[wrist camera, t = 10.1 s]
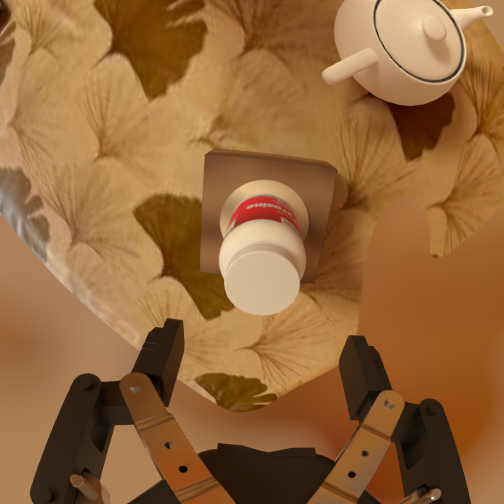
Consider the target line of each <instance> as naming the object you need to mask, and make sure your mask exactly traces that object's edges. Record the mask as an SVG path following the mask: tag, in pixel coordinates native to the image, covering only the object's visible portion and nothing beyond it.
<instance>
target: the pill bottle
mask: <svg viewBox="0 0 504 504" xmlns="http://www.w3.org/2000/svg"><path fill="white" fill-rule="evenodd" d="M219 266H220V271H221V274H222V276H223V278H224V280H225V281H224V284H225V290H226V293H227V296H228V298H229V299H230V301H231V302H232V303H233V304H234V305H235V306H236V307H237V308H239V309H240V310H242V311H244V312H246V313H249V314H253V315H260V316H264V315H273V314H276V313H279V312H281V311H283V310H285V309H286V308H288V307H289V306H290V305H291V304H292V303H293V302H294V301H295V299H296V297H297V295H298V293H299V289H300V280H301V278H302V276H303V274H304V271H305V268H306V253H305V248H304V245H303V241H302V237H301V233H300V230H299V226H298V222H297V219H296V216H295V213H294V211H293V209H292V208H291V206H290V205H289V204H288V203H287V202H286V201H284V200H283V199H281V198H280V197H278V196H275V195H272V194H266V193H260V194H254V195H251V196H249V197H247V198H245V199H244V200H242V201H241V202H240V203H239V204H238V205H237V207H236V208H235V210H234V212H233V214H232V216H231V219H230V222H229V225H228V227H227V230H226V234H225V237H224V240H223V243H222V246H221V249H220V254H219Z"/></svg>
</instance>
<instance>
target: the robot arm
mask: <svg viewBox="0 0 504 504" xmlns="http://www.w3.org/2000/svg"><path fill="white" fill-rule="evenodd" d="M183 353H184V328H183V320H177V319H170V318H167V319H166V322H165V324H164V327H163V328H159V327H155V328H154V329H153V330H152V331H151V332H149V333H148V336H147V338H146V340H145V343H144V344H143V347H142V349H141V351H140V354H139V356H138V358H137V360H136V363H135V365H134V368H133V370H132V372H131V373H129V374H127V375H126V376H124V377H123V378H122V379H121V380H120V381H113V382H112V381H110V382H101V381H100V379H99V378H98V377H97V376H95V375H93V374H82V375H79V376H78V377H77V378H76V379H75V380H74V381H73V383H72V385H71V387H70V390H69V392H68V394H67V396H66V398H65V400H64V403H63V405H62V407H61V409H60V412H59V414H58V417H57V419H56V421H55V424H54V426H53V429H52V431H51V434H50V436H49V438H48V441H47V444H46V446H45V449H44V451H43V454H42V457H41V460H40V462H39V465H38V468H37V471H36V474H35V477H34V480H33V483H32V486H31V490H30V497H31V500H32V502H33V503H34V504H110V494H109V492H108V490H107V488H106V487H105V486H104V485H103V484H102V483H101V482H100V478H101V474H102V470H103V466H104V462H105V459H106V455H107V451H108V448H109V444H110V440H111V437H112V434H113V430H114V427H115V425H134V426H135V428H136V430H137V432H138V434H139V436H140V438H141V440H142V442H143V444H144V446H145V448H146V450H147V452H148V454H149V456H150V458H151V460H152V462H153V464H154V465H155V468H156V469H157V471H158V473H159V475H160V476H161V478H162V480H161V481H159V482H158V483H157V484H155V485H154V486H152V487H151V488H150V489H148V490H147V491H145V492H144V493H142V494H141V495H140V496H138V497H137V498H135V499H134V500H132V501H131V502H129V503H128V504H381V503H380V502H379V501H378V500H376V499H375V498H374V497H373V496H372V495H371V494H369V493H368V492H367V491H366V490H365V488H366V486H367V484H368V482H369V481H370V479H371V477H372V476H373V474H374V472H375V470H376V468H377V467H378V465H379V463H380V461H381V459H382V458H383V456H384V454H385V452H386V450H387V448H388V446H389V444H390V442H394V443H395V445H396V450H397V455H398V460H399V466H400V471H401V477H402V483H403V490H404V497H405V498H404V499H403V500H402V501H401V503H400V504H471V501H470V497H469V492H468V488H467V484H466V480H465V476H464V472H463V469H462V465H461V461H460V458H459V455H458V451H457V448H456V445H455V442H454V439H453V435H452V432H451V429H450V426H449V423H448V420H447V417H446V415H445V412H444V409H443V407H442V405H441V404H440V403H439V402H438V401H436V400H434V399H425V400H423V401H422V402H421V403H420V405H418V404H413V403H407V402H404V400H403V398H402V397H401V396H400V395H399V394H398V393H396V392H394V391H393V390H392V387H391V385H390V382H389V379H388V376H387V374H386V371H385V369H384V366H383V363H382V360H381V357H380V355H379V353H378V352H377V350H376V349H375V348H374V347H373V346H368V344H367V341H366V339H365V337H364V336H355V335H349V336H348V338H347V341H346V343H345V346H344V348H343V351H342V353H341V356H340V359H339V370H340V374H341V378H342V383H343V387H344V391H345V396H346V401H347V405H348V410H349V415H350V420H359V425H358V427H357V429H356V430H355V432H354V433H353V435H352V436H351V438H350V439H349V441H348V443H347V444H346V445H345V447H344V449H343V450H342V451H341V453H340V454H339V456H338V457H337V458H336V460H335V461H333V460H331V459H329V458H327V457H325V456H322V455H319V454H316V452H315V448H289V449H284V450H279V451H274V452H263V451H259V450H256V449H252V448H249V447H245V446H242V445H231V444H222V443H218V447H217V449H212V450H207V451H204V452H201V453H198V454H197V453H196V452H195V450H194V448H193V447H192V445H191V444H190V442H189V441H188V439H187V438H186V436H185V435H184V433H183V431H182V430H181V428H180V426H179V425H178V423H177V422H176V420H175V418H174V417H173V415H172V414H169V413H168V411H167V410H166V408H165V407H168V406H169V403H170V399H171V396H172V392H173V389H174V385H175V381H176V378H177V374H178V371H179V367H180V364H181V361H182V357H183Z"/></svg>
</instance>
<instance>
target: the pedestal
mask: <svg viewBox="0 0 504 504" xmlns="http://www.w3.org/2000/svg"><path fill="white" fill-rule="evenodd" d="M336 174H337V169H335V168H334V167H333V166H332V165H330V164H329V163H328V162H325V161H319V160H313V159H306V158H299V157H291V156H283V155H275V154H266V153H257V152H247V151H236V150H224V149H213V150H211V151H210V152H208V153H207V154H205V163H204V180H203V199H202V223H201V255H200V272H208V273H217V274H221V271H220V266H219V254H220V249H221V246H222V243H223V240H224V237H225V234H226V230H227V227H228V225H229V222H230V219H231V216H232V214H233V212H234V210H235V208H236V207H237V205H238V204H239V203H240V202H241V201H242V200H244V199H245V198H247V197H249V196H251V195H254V194H260V193H266V194H272V195H275V196H278V197H280V198H281V199H283V200H284V201H286V202H287V203H288V204H289V205H290V206H291V208H292V209H293V211H294V213H295V216H296V219H297V222H298V226H299V230H300V233H301V237H302V241H303V245H304V248H305V253H306V268H305V271H304V274H303V276H302V278H301V280H300V282H304V283H315V280H316V275H317V271H318V266H319V262H320V257H321V253H322V248H323V243H324V238H325V233H326V229H327V223H328V218H329V213H330V208H331V203H332V197H333V192H334V186H335V180H336Z"/></svg>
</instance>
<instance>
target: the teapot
mask: <svg viewBox="0 0 504 504" xmlns="http://www.w3.org/2000/svg"><path fill="white" fill-rule="evenodd" d="M492 14H493V9H492V8H491V7H489V6H481V7H477V8H470V9H455V10H449V9H448V8H447V7H446V6H445V5H444V4H443V3H442V2H441V1H440V0H345V1H344V2H343V4H342V5H341V7H340V8H339V10H338V12H337V15H336V19H335V22H334V38H335V45H336V47H337V50H338V53H339V56H340V58H341V61H339V62H338V63H336V64H334V65H332V66H330V67H328V68H327V69H325V70H324V71H323V72H322V78H323V79H324V81H325V82H326V83H327V84H329V85H335V84H337V83H339V82H341V81H343V80H345V79H347V78H348V77H350V76H353V77H354V79H355V80H356V81H357V82H358V83H359V84H360V85H362V86H363V87H364V88H365V89H366V90H367V91H369V92H370V93H372V94H373V95H375V96H376V97H379V98H381V99H383V100H385V101H387V102H391V103H395V104H398V105H406V106H414V105H422V104H426V103H428V102H431V101H434V100H436V99H438V98H439V97H441V96H442V95H443V94H445V93H446V92H447V91H449V90H450V88H451V87H452V86H453V85H454V84H455V82H456V81H457V80H458V78H459V77H460V75H461V74H462V72H463V69H464V67H465V64H466V59H467V47H466V41H465V38H464V35H463V32H464V31H465V30H466V29H468V28H469V27H470V26H472V25H473V24H475V23H476V22H478V21H480V20H482V19H484V18H487V17H489V16H491V15H492ZM376 28H377V31H378V34H379V37H380V39H381V41H382V43H383V45H384V47H385V48H386V50H387V51H388V53H389V54H390V55H391V57H392V58H393V59H394V60H395V61H396V62H397V63H398V64H399V65H400V66H401V67H402V68H400V67H399V66H398V65H397V64H396V63H395V62H394V61H393V60H392V59H391V58H390V56H389V55H388V53H387V52H386V51H385V49H384V48H383V46H382V44H381V42H380V40H379V38H378V36H377V33H376V30H375V29H376Z"/></svg>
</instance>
